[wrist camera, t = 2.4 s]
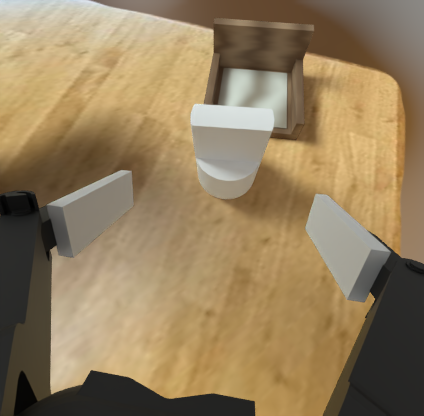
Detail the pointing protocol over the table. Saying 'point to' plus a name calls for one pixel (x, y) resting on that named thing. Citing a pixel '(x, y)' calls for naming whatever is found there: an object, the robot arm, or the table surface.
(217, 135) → the base with upright slab
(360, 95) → the table surface
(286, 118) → the walnut rest
